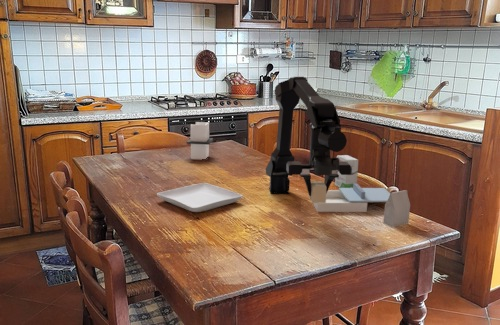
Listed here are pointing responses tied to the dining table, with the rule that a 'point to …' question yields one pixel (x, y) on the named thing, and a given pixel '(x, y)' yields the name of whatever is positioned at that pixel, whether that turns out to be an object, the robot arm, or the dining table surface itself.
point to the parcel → (318, 192)
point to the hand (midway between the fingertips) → (317, 195)
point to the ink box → (347, 180)
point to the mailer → (339, 203)
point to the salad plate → (199, 197)
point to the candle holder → (199, 140)
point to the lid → (365, 194)
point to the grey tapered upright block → (397, 209)
